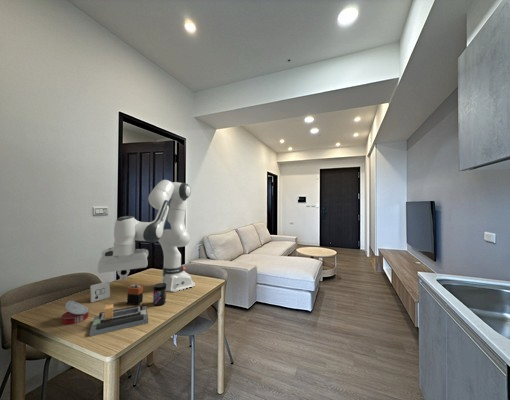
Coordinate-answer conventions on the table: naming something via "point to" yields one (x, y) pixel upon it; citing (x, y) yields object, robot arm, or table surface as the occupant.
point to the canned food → (74, 313)
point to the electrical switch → (100, 291)
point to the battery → (135, 294)
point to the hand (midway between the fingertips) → (123, 279)
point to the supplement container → (159, 294)
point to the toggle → (108, 311)
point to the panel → (117, 327)
